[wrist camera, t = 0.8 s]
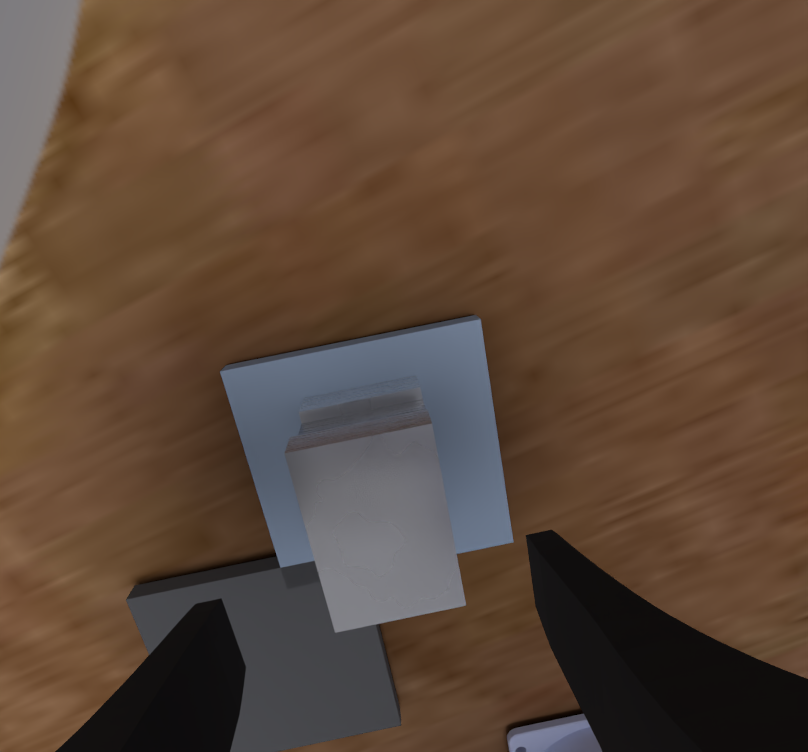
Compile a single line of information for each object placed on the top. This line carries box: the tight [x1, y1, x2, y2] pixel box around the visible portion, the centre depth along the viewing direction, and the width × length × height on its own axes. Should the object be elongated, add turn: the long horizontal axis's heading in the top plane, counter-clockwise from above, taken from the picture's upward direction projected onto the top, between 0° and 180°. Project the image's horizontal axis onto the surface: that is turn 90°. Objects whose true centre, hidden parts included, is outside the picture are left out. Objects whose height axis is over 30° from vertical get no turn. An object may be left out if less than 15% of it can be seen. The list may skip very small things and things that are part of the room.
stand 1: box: [220, 315, 513, 568], centre depth 20 cm, size 9×9×1 cm
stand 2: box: [126, 556, 401, 752], centre depth 22 cm, size 9×9×1 cm
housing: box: [284, 375, 466, 633], centre depth 17 cm, size 6×4×4 cm, turn 11°
